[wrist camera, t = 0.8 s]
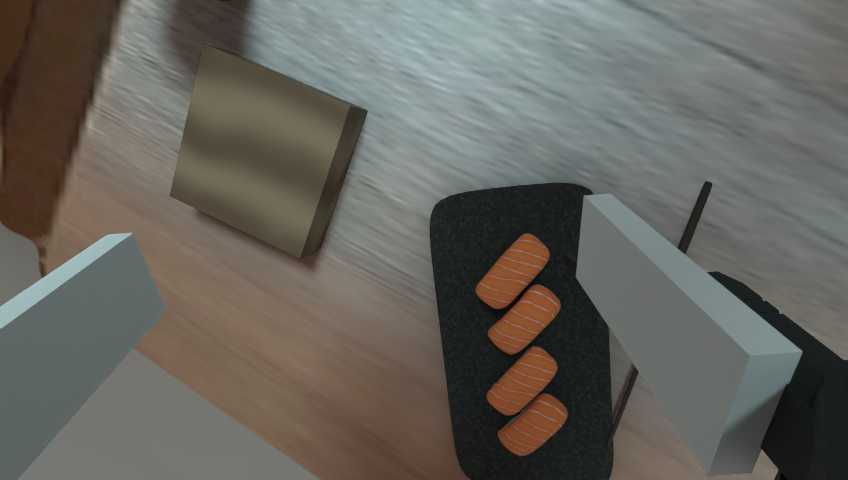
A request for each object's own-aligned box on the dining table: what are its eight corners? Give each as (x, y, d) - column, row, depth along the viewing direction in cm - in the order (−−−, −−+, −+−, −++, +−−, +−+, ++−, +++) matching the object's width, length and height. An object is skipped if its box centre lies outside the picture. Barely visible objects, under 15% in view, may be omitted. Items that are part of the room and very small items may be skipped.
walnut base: (234, 53, 39) (203, 43, 35) (367, 110, 37) (350, 105, 34) (201, 191, 43) (169, 195, 39) (320, 248, 41) (299, 258, 37)
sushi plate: (428, 193, 38) (418, 198, 35) (820, 152, 31) (860, 152, 27) (461, 471, 44) (456, 500, 40) (803, 491, 36) (834, 529, 33)
